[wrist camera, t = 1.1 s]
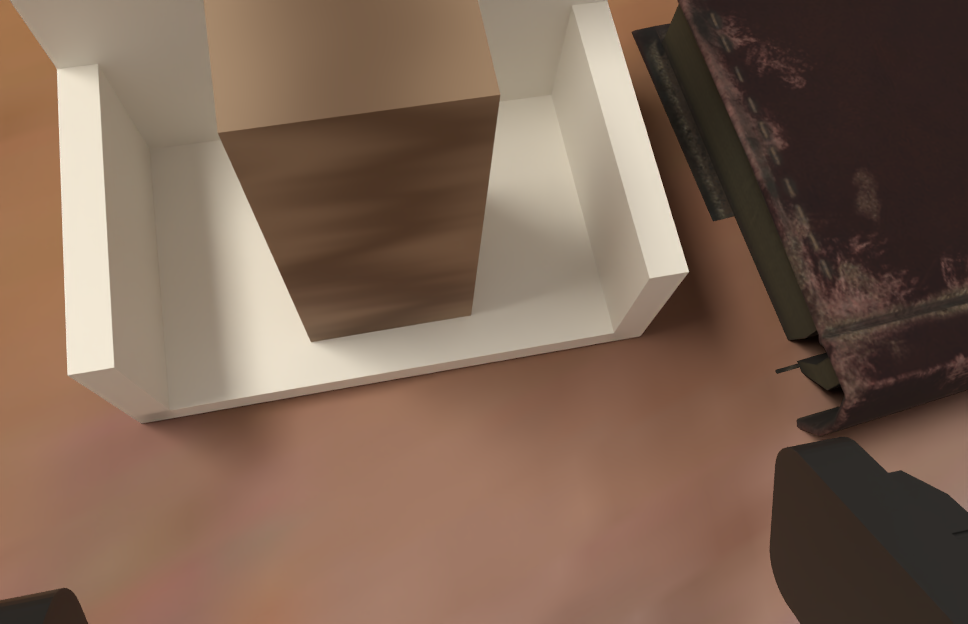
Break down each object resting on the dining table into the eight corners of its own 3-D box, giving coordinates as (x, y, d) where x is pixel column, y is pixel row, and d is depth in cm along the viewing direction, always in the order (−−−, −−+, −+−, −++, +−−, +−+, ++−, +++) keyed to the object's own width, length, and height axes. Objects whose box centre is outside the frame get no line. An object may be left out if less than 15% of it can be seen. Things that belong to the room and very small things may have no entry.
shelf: (141, 423, 28) (-58, 293, 16) (123, 140, 31) (-50, -126, 20) (640, 336, 30) (766, 168, 19) (570, 80, 33) (641, -192, 22)
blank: (310, 341, 28) (217, 132, 16) (292, 210, 30) (195, -72, 17) (471, 315, 29) (500, 94, 16) (445, 188, 30) (454, -99, 18)
